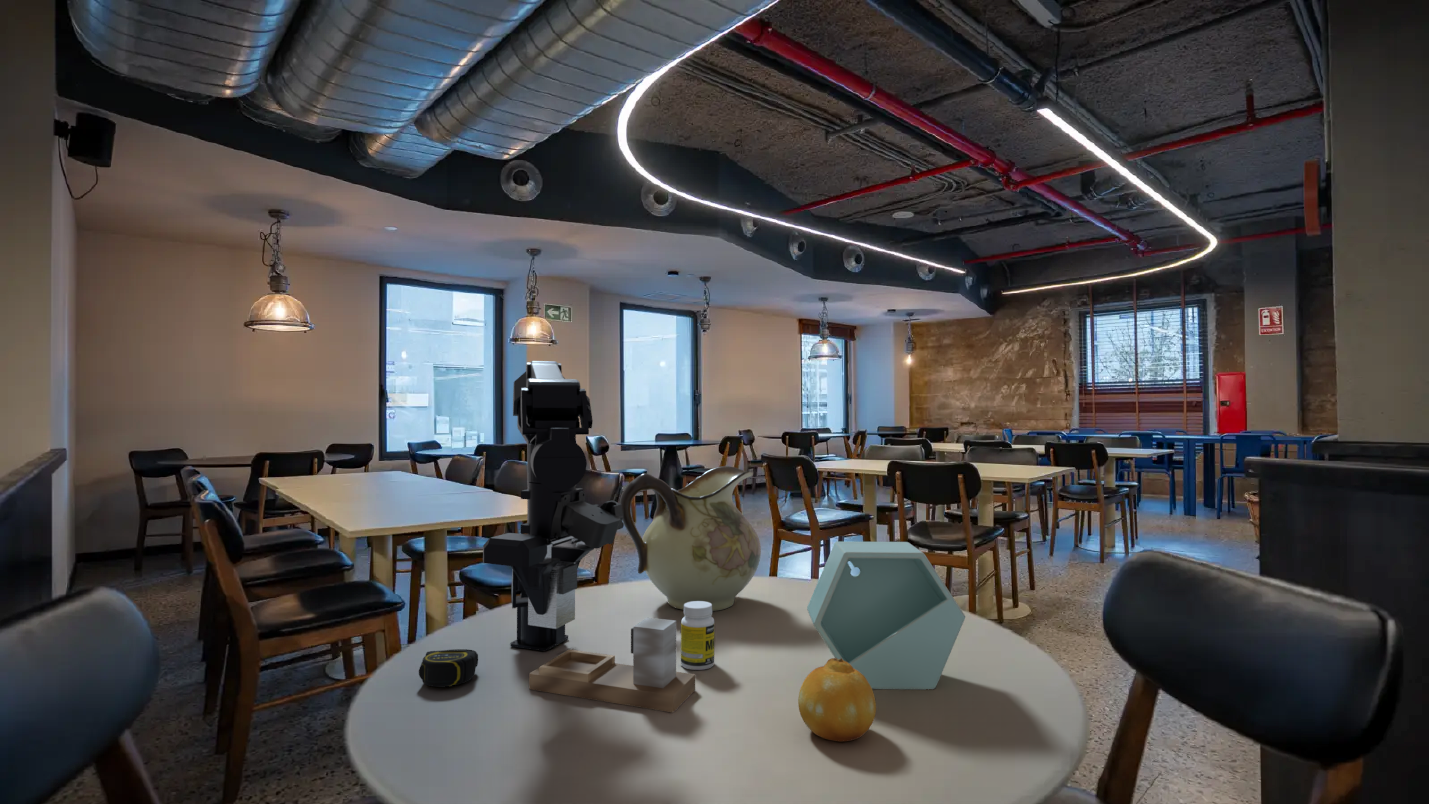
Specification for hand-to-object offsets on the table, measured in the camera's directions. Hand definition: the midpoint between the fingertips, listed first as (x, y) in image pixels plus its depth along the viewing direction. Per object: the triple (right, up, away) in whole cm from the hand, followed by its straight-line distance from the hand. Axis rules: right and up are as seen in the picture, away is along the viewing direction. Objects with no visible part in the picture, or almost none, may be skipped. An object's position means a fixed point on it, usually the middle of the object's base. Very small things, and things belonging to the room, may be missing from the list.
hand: (551, 609), depth 83 cm
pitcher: (+17, -12, +43) cm, 48 cm away
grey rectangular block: (0, -2, 0) cm, 2 cm away
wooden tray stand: (+7, -11, +4) cm, 14 cm away
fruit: (+33, -11, -8) cm, 36 cm away
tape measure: (-15, -12, +7) cm, 21 cm away
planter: (+42, -12, +8) cm, 45 cm away
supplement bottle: (+18, -12, +12) cm, 25 cm away
